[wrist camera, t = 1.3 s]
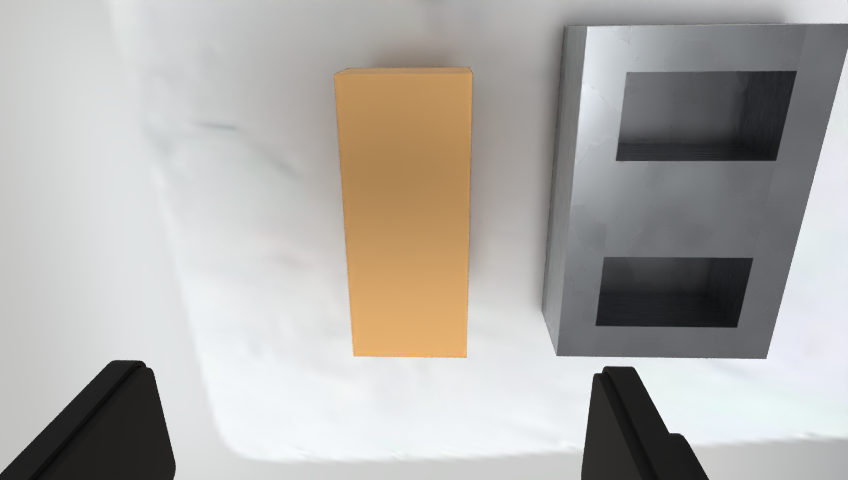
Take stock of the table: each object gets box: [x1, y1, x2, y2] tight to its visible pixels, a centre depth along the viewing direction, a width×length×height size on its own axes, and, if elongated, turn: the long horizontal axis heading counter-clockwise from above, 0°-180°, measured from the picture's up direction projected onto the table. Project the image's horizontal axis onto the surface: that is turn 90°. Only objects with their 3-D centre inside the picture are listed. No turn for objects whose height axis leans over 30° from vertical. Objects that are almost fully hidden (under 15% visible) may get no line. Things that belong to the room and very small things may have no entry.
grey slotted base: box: [542, 23, 848, 359], centre depth 26 cm, size 15×10×4 cm, turn 1°
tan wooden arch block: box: [334, 67, 473, 358], centre depth 25 cm, size 12×5×7 cm, turn 1°
